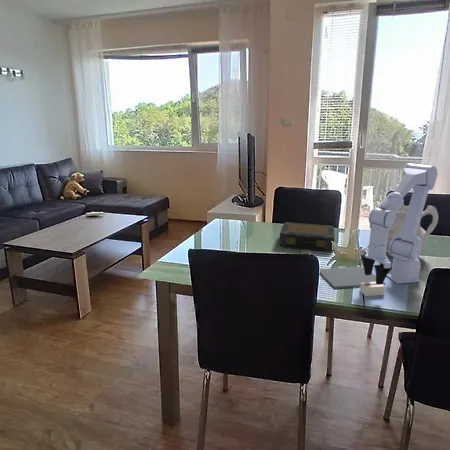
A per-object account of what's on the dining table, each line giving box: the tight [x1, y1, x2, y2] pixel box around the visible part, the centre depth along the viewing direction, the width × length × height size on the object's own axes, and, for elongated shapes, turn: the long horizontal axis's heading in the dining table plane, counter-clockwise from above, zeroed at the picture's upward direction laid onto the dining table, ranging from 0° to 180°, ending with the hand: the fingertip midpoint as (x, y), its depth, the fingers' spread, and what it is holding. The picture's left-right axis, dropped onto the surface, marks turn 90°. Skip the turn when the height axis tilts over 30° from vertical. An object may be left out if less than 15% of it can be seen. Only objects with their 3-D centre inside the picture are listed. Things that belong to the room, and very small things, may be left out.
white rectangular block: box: [359, 282, 386, 297], centre depth 134 cm, size 7×4×4 cm, turn 99°
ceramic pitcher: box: [386, 203, 439, 258], centre depth 166 cm, size 22×20×25 cm
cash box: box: [278, 221, 335, 253], centre depth 184 cm, size 25×20×8 cm
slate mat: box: [319, 265, 386, 290], centre depth 147 cm, size 20×16×1 cm
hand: (373, 279), depth 133 cm, fingers open, 7 cm apart
